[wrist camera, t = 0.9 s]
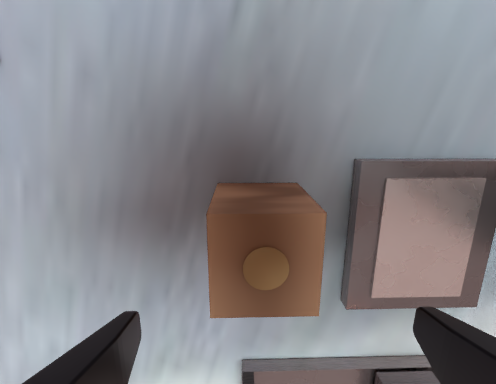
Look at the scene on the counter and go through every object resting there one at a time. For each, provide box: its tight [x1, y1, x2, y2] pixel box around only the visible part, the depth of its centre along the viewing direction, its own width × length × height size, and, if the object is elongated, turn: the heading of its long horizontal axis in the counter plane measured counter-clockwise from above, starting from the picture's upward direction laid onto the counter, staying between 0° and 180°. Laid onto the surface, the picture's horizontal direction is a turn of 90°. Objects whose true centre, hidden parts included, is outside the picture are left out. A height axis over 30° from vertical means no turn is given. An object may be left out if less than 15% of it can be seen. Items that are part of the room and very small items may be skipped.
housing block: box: [206, 183, 327, 318], centre depth 15 cm, size 5×5×6 cm
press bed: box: [341, 159, 496, 309], centre depth 18 cm, size 9×10×1 cm
